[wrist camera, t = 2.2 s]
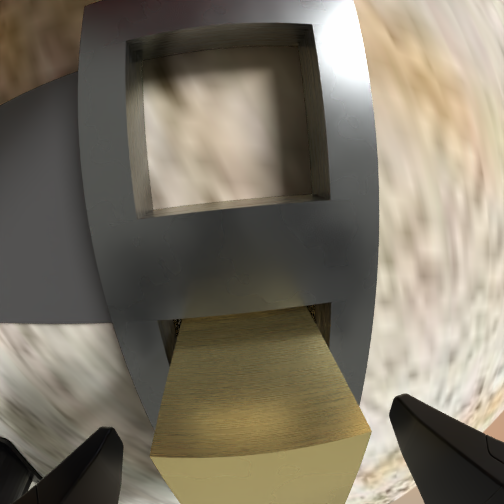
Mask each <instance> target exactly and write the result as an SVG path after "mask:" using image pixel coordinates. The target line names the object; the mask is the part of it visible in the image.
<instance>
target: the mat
mask: <svg viewBox="0 0 504 504" xmlns="http://www.w3.org/2000/svg"><path fill="white" fill-rule="evenodd" d="M0 323H40V324H71V323H112V320H111V316H110V313H109V309H108V306H107V302H106V299H105V295H104V291H103V287H102V283H101V279H100V275H99V271H98V267H97V262H96V258H95V253H94V248H93V243H92V238H91V233H90V227H89V222H88V216H87V209H86V203H85V195H84V188H83V179H82V170H81V159H80V146H79V128H78V71H77V72H74V73H72V74H69V75H66V76H64V77H61V78H58V79H56V80H53V81H51V82H49V83H46V84H44V85H41V86H39V87H37V88H35V89H32V90H30V91H28V92H26V93H24V94H22V95H20V96H18V97H16V98H14V99H12V100H10V101H8V102H6V103H4V104H2V105H0Z"/></svg>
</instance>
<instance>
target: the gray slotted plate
mask: <svg viewBox="0 0 504 504" xmlns="http://www.w3.org/2000/svg"><path fill="white" fill-rule="evenodd" d="M250 46H298V49H299V56H300V64H301V72H302V80H303V88H304V97H305V106H306V116H307V127H308V138H309V151H310V164H311V179H312V194H305V195H291V196H278V197H266V198H254V199H243V200H233V201H223V202H214V203H205V204H196V205H188V206H179V207H171V208H164V209H156V210H153V204H152V196H151V188H150V179H149V170H148V160H147V149H146V136H145V122H144V104H143V75H142V60H147V59H152V58H157V57H162V56H167V55H173V54H179V53H186V52H193V51H201V50H210V49H220V48H232V47H250ZM78 128H79V146H80V159H81V170H82V179H83V188H84V195H85V203H86V209H87V216H88V222H89V227H90V233H91V238H92V243H93V248H94V253H95V258H96V262H97V267H98V271H99V275H100V279H101V283H102V287H103V291H104V295H105V299H106V302H107V306H108V309H109V313H110V316H111V320H112V323H113V326H114V329H115V332H116V336H117V339H118V342H119V345H120V348H121V350H122V353H123V356H124V359H125V362H126V364H127V367H128V370H129V372H130V375H131V378H132V380H133V383H134V385H135V388H136V390H137V393H138V395H139V397H140V400H141V402H142V404H143V407H144V409H145V411H146V414H147V416H148V418H149V420H150V422H151V424H152V427H153V429H154V431H155V429H156V424H157V419H158V415H159V411H160V406H161V402H162V397H163V393H164V389H165V385H166V381H167V377H168V373H169V368H170V364H171V361H172V357H173V353H174V349H175V345H176V341H177V335H176V331H175V326H174V322H173V319H185V318H197V317H209V316H220V315H231V314H240V313H250V312H259V311H268V310H276V309H284V308H292V307H299V306H307V305H314V304H315V324H316V326H317V327H318V329H319V331H320V333H321V335H322V337H323V339H324V341H325V342H326V344H327V346H328V348H329V350H330V352H331V354H332V356H333V358H334V359H335V361H336V363H337V365H338V367H339V369H340V371H341V373H342V375H343V377H344V378H345V380H346V382H347V384H348V386H349V388H350V390H351V392H352V394H353V396H354V398H355V400H356V402H357V404H358V405H360V400H361V395H362V390H363V385H364V379H365V374H366V368H367V361H368V355H369V348H370V341H371V333H372V325H373V316H374V306H375V296H376V283H377V268H378V246H379V180H378V158H377V143H376V131H375V120H374V111H373V102H372V94H371V87H370V80H369V74H368V67H367V61H366V56H365V50H364V45H363V40H362V35H361V31H360V26H359V22H358V18H357V13H356V9H355V5H354V2H353V0H102V1H99V2H96V3H93V4H90V5H87V6H85V8H84V15H83V22H82V31H81V40H80V52H79V69H78Z"/></svg>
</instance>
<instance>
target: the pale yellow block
mask: <svg viewBox="0 0 504 504" xmlns="http://www.w3.org/2000/svg"><path fill="white" fill-rule="evenodd" d="M371 432H372V431H371V429H370V427H369V425H368V423H367V421H366V419H365V417H364V415H363V413H362V411H361V409H360V407H359V405H358V404H357V402H356V400H355V398H354V396H353V394H352V392H351V390H350V388H349V386H348V384H347V382H346V380H345V378H344V377H343V375H342V373H341V371H340V369H339V367H338V365H337V363H336V361H335V359H334V358H333V356H332V354H331V352H330V350H329V348H328V346H327V344H326V342H325V341H324V339H323V337H322V335H321V333H320V331H319V329H318V327H317V326H316V324H315V322H314V320H313V318H312V316H311V314H310V313H309V311H308V309H307V307H306V306H299V307H292V308H284V309H276V310H268V311H259V312H250V313H240V314H231V315H220V316H209V317H197V318H185V319H182V322H181V326H180V330H179V334H178V337H177V341H176V345H175V349H174V353H173V357H172V361H171V364H170V368H169V373H168V377H167V381H166V385H165V389H164V393H163V397H162V402H161V406H160V411H159V415H158V419H157V424H156V429H155V433H154V438H153V443H152V447H151V452H150V458H151V460H152V461H153V463H154V465H155V466H156V468H157V469H158V471H159V473H160V474H161V476H162V477H163V479H164V480H165V482H166V483H167V485H168V486H169V488H170V489H171V491H172V492H173V494H174V495H175V496H176V498H177V499H178V501H179V502H180V503H181V504H345V502H346V500H347V497H348V495H349V493H350V490H351V488H352V485H353V483H354V480H355V478H356V475H357V473H358V470H359V467H360V465H361V462H362V459H363V456H364V453H365V451H366V448H367V445H368V441H369V438H370V435H371Z"/></svg>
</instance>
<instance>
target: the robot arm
mask: <svg viewBox="0 0 504 504" xmlns="http://www.w3.org/2000/svg"><path fill="white" fill-rule="evenodd" d="M389 417H390V421H391V424H392V426H393V429H394V432H395V435H396V438H397V441H398V444H399V447H400V450H401V453H402V455H403V457H404V460H405V462H406V464H407V466H408V468H409V470H410V472H411V474H412V476H413V479H414V481H415V483H416V485H417V487H418V489H419V491H420V494H421V496H422V498H423V500H424V503H425V504H504V442H502V441H499V440H497V439H495V438H493V437H490V436H488V435H485V434H484V433H482V432H480V431H478V430H476V429H474V428H472V427H470V426H468V425H466V424H464V423H462V422H460V421H458V420H456V419H454V418H452V417H450V416H448V415H446V414H444V413H442V412H440V411H438V410H437V409H435V408H433V407H431V406H429V405H427V404H425V403H423V402H421V401H420V400H418V399H416V398H414V397H412V396H410V395H409V394H401V395H398V396H396V397H395V398H394V400H393V403H392V406H391V409H390V413H389ZM122 460H123V443H122V441H121V439H120V437H119V436H118V434H117V432H116V431H115V429H114V428H113V427H106V426H102V427H100V428H99V429H98V430H97V431H96V432H95V433H93V434H92V435H91V436H90V437H89V438H88V439H87V440H86V441H85V442H83V443H82V444H81V445H80V446H79V447H78V448H77V449H76V450H75V451H73V452H72V453H71V454H70V455H69V456H68V457H67V458H66V459H65V460H63V461H62V462H61V463H60V464H59V465H58V466H57V467H55V468H54V469H53V470H52V471H51V472H50V473H49V474H47V475H46V476H45V477H44V478H43V479H42V478H41V477H40V476H39V475H38V474H37V473H36V472H35V471H34V469H33V468H32V467H31V466H30V465H29V464H28V463H27V462H26V461H25V459H24V458H23V457H22V456H21V455H20V454H19V452H18V451H17V450H16V449H15V448H14V446H13V445H12V444H11V443H10V442H9V441H7V440H5V439H2V438H0V504H118V500H119V494H120V488H121V477H122ZM32 481H34V482H36V483H37V485H35V486H34V487H33V488H31V489H30V490H29V491H28V489H29V487H30V484H31V482H32Z"/></svg>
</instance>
